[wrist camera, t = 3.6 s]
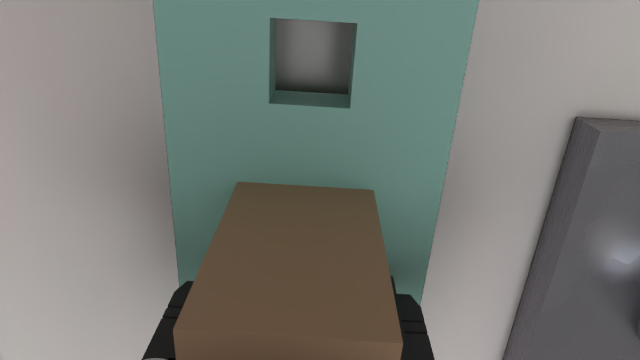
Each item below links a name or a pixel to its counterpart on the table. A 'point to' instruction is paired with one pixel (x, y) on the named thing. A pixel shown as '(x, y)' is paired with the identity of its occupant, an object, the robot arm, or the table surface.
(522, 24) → the table surface
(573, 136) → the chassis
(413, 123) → the board
